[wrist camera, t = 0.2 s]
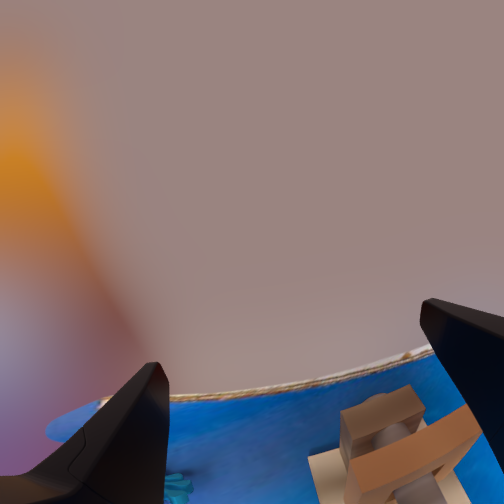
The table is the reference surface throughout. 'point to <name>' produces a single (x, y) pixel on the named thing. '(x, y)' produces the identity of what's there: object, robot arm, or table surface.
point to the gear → (177, 489)
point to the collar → (411, 459)
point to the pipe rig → (373, 438)
